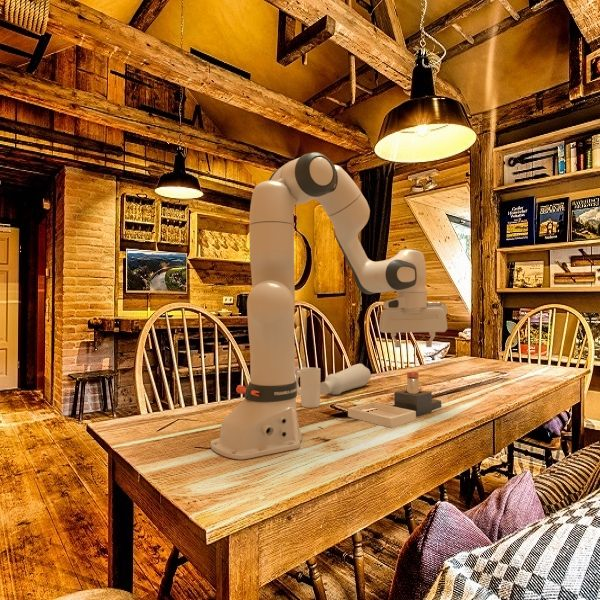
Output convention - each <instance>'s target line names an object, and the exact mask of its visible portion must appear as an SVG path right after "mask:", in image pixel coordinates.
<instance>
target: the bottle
mask: <svg viewBox="0 0 600 600" xmlns="http://www.w3.org/2000/svg"><path fill="white" fill-rule="evenodd" d="M371 374H372V373H371V371H370V369H369V368H367V367H366V366H365V365H364V364H363V363H357V364H354V365H351V366H348V368H345V369H343V370H340V371H337V372H335V373H330V374H327V376H325V379H324V381H322V382H321V381H320V395H322V396H326V395H328V394H329V395H332V396H338V395H340V394H341V393H344V392H346V391H350V390H353V389H358V388H361V387H362V388H363V386H365V385H367V384H368V383H369V381H370V379H371V377H372V375H371Z"/></svg>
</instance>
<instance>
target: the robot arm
mask: <svg viewBox="0 0 600 600" xmlns="http://www.w3.org/2000/svg"><path fill="white" fill-rule="evenodd" d="M313 200H315V201H316V202H318V203H319V204H320V205H321V207H322V209H323V210H324V212H325V214H326V215H327V216H328V219H329V220H330V222H331V224H332V226H333V228H334V229H333V233H334V234H333V235H334V237H335V240H336V243H337V245H338V246H339V248H340V251H341V252H342V254H343V256H344V258H345V259H346V262H347V263H348V266H349V267H350V270H351V272H352V274H353V278H354V282H355V285H356V286H357V288H358V290H359V291H360V292H361V293H363V294H366V295H374V294H378V293H379V294H381V293H393V292H396V296H397V297H396V298H395V297H394V298H390V299H389V300H385V301H384V302H383V303H382V307H383V310H382V311H381V313H380V316H379V326H378V327H379V331H380V332H381V333H385V334H387V333H390V337H391V338H392V339H393V342H394V347H395V348H401V342H400V341H399V340H397V338H396V337H397V333H398V334H399V333H428V334H429V336H430V338H429V339H428V340H426V341H425V346H426V348H432V346H433V343H432V342H433V341H434V339H435V337H436V333H445V332H446V331H447V330H448V321H447V314H448V306H447V304H446V303H443V302H442V301H428V295H427V288H426V281H427V268H426V267H427V265H426V260H425V255H424V253H423V252H422V251H420V250H418V249H412V248H405V249H401V250H399V251H398V253H397V254H396V255H394V256H392V257H390V258H388V259H385V260H379V261H373V260H371V259H370V258H368V256H367V254H366V252H365V250H364V248H363V246H362V243H361V242H360V240H359V234H360V232H361V231H362V230H363V229H364V227H365V226H366V225H367V224H368V221H369V219H370V216H371V215H370V213H371V209H370V206H369V204H368V201H367V199H366V198H365V196H364V195H363V193H362V191H361V190H360V188H359V187H358V185H357V184H356V183H355V181H354V180H353V179H352V177H351V176H350V175H349V174H348V172H346V171H345V169H343V167H342V166H340V165H337V164H334V163H333V162H332V161H331V159H330V158H329V157H327V156H326V155H324V154H323V153H320V152H308V153H305V154H303V155H301V156H300V157H298V158H295V159H293V160H290V161H288V162H287V163H285V164H284V165H282V166H281V167H279V168H277V169H276V170H275V171H274V172H273V173H272V174H271V175H270V177H269V179H268V180H265V181H262V182H259V183H258V184H257V185H256V186H255V187H254V189H253V190H252V195H251V200H250V208H249V228H248V229H249V262H250V263H249V264H250V272H251V290H250V292H249V293H248V295H247V300H246V310H247V311H246V316H247V328H248V330H247V331H248V341H249V354H250V355H249V356H250V357H249V359H250V360H249V361H250V362H249V363H250V364H249V366H250V367H249V369H250V371H249V372H250V373H249V374H250V379H249V380H250V381H249V382H248V385H247V386H245V385H242V384H239V385H237V387H236V389H235V391H236V392H237V394H240V395H244V396H243V400H242V401H240V403H238V405H237V406H236V407H235V408H233V409H232V410H231V411H230V412H229V413H228V414H227V415H226V416H225V417H223V419H222V423H221V427H220V433H219V437H217V438H214V439H212V440H211V441H210V445H209V446H210V449H211V450H212V451H214V452H215V453H217V454H218V455H221V456H223V457H226V458H229V459H232V460H233V459H235V460H240V461H241V460H247V459H252V458H258V457H263V456H267V455H271V454H272V455H273V454H277V453H278V454H279V453H282V452H286V451H293V450H296V449H300V448H301V441H302V440H303V436H302V433H301V429H300V425H299V419H298V411H297V402H296V401H297V396H298V394H297V382H296V381H295V378H296V367H295V366H296V349H295V347H296V345H295V344H296V342H295V341H296V340H295V306H296V299H295V298H296V295H295V294H296V292H295V284H296V283H295V232H294V231H295V227H294V226H295V223H294V220H295V219H294V218H295V217H294V210H295V207H296V206H298V205H300V204H307V203H308V202H310V201H313Z"/></svg>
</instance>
